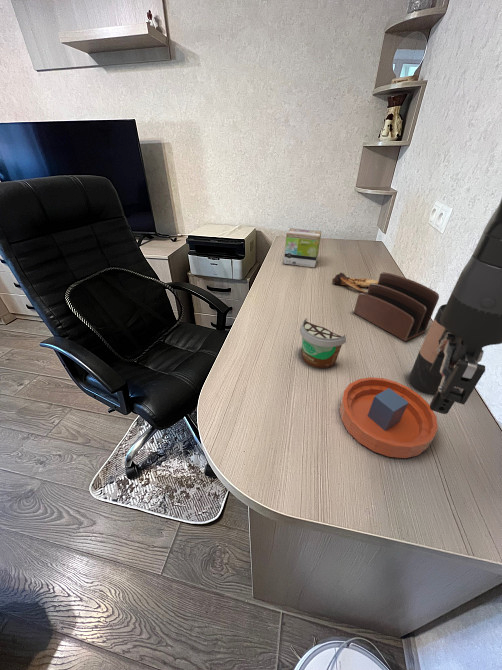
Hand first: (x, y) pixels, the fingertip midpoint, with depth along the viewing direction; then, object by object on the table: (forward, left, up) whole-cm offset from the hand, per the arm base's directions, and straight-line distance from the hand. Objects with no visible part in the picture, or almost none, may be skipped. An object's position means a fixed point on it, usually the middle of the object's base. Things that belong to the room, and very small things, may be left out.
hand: (436, 391), depth 43 cm
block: (+7, -3, -16) cm, 18 cm away
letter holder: (+32, -37, -17) cm, 52 cm away
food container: (+29, -3, -17) cm, 34 cm away
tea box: (+89, -47, -17) cm, 102 cm away
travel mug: (+9, -21, -17) cm, 28 cm away
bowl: (+7, -3, -17) cm, 18 cm away
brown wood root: (+56, -48, -17) cm, 76 cm away
